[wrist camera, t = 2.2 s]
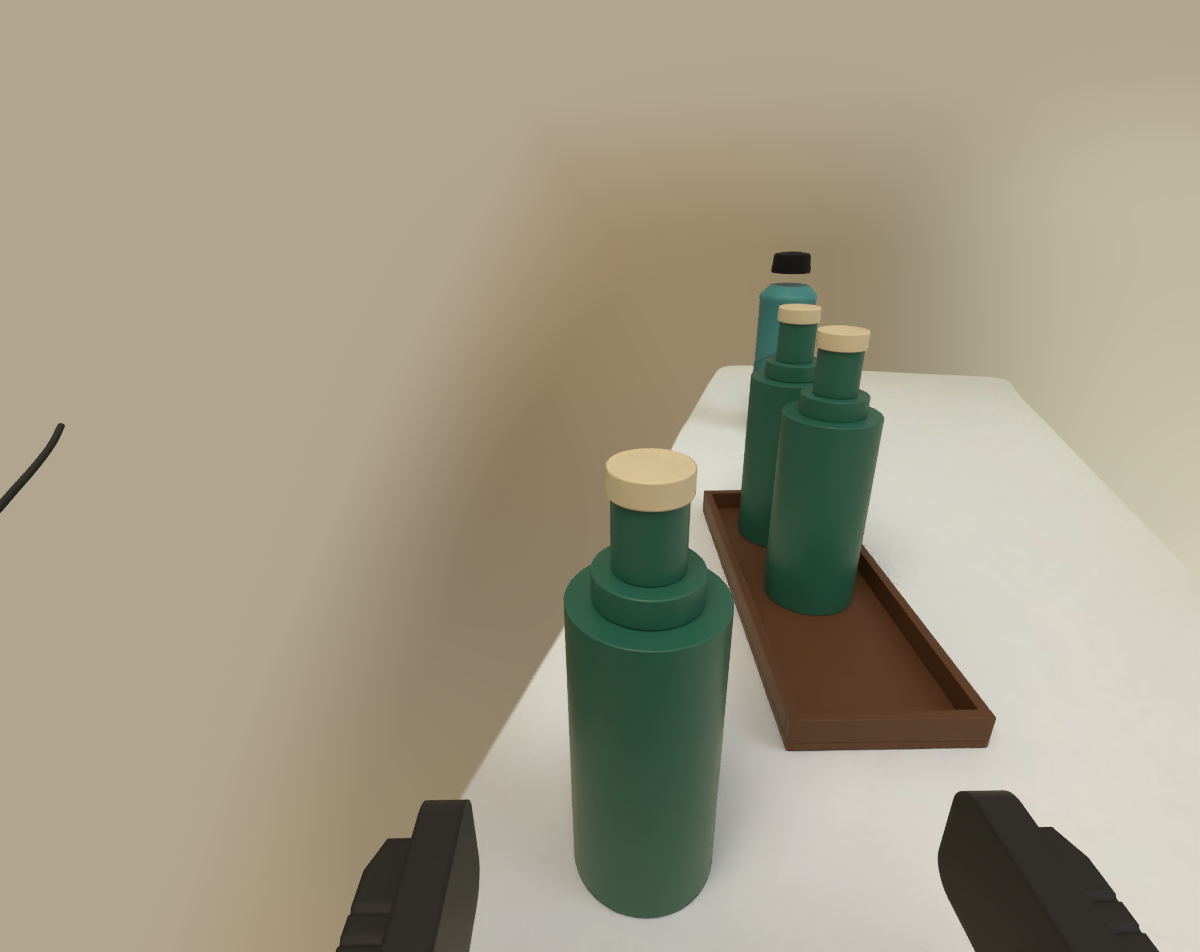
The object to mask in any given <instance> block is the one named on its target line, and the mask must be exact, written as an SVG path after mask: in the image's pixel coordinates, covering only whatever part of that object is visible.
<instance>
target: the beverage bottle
mask: <svg viewBox="0 0 1200 952" xmlns="http://www.w3.org/2000/svg"><path fill="white" fill-rule="evenodd" d="M810 262H811V255H810V254H809V253H803V252H782V253H776V254H775V255H774V259H773V265H772V270H771V272H773V273H780V274H806V273H810V270H811V266H810ZM816 300H817V294H816V293H815V292H814V291H813V289H812V288H811V287H810V286H809V285H807V284H800V283H775V284H771V285H769V286H768V287H767V288H766V289H765V290H764V291H763V292H761V294H760V305H759V317H758V329H757V341H756V353H755V362H754V365H753V366H754V370H753V371H752V372H754V371H756V370H759V369H763V368H765V363H766V358H767V357H769V356H773V355H776V351H777V342H778V332H779V322H780V321H778V310H779V306H780V305H784V304H811V305H816Z"/></svg>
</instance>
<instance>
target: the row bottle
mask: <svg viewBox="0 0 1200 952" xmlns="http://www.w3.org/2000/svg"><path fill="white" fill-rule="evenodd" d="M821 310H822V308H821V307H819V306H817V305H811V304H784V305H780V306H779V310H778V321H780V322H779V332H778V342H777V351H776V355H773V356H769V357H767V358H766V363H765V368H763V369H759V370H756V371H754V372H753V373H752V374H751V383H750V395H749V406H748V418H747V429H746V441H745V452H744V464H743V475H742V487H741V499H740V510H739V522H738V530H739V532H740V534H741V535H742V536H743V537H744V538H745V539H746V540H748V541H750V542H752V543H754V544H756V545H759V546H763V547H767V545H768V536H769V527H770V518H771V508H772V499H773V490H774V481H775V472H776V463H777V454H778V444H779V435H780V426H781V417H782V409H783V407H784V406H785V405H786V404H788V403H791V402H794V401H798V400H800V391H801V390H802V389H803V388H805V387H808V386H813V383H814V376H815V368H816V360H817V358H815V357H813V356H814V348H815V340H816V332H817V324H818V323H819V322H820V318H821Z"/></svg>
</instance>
